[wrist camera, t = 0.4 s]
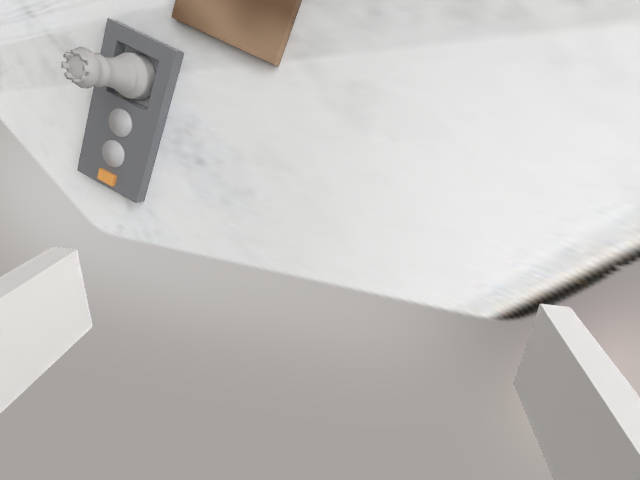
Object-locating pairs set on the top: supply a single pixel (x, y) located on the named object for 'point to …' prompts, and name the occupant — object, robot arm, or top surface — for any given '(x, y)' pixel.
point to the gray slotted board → (128, 118)
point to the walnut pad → (243, 23)
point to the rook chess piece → (111, 72)
